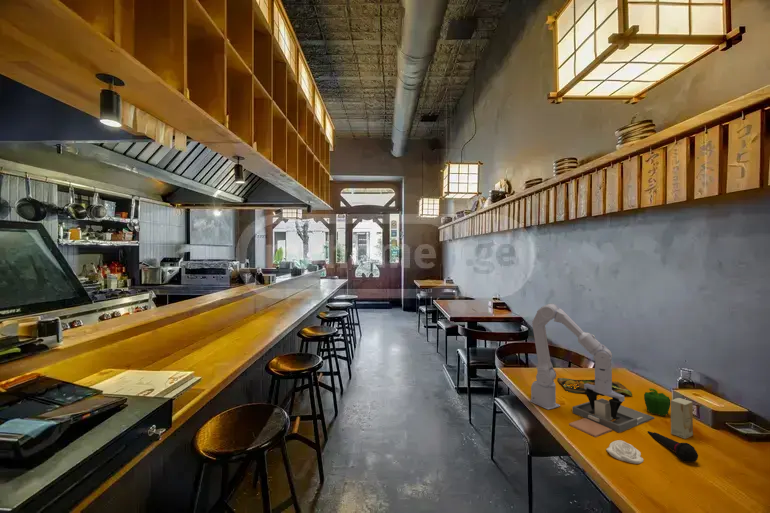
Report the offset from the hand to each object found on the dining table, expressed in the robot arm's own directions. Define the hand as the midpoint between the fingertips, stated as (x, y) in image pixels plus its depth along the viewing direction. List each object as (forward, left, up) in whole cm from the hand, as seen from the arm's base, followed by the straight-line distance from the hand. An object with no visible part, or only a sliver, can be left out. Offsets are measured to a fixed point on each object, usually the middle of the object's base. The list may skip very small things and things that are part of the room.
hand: (603, 412), depth 133 cm
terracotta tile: (+2, -12, -2) cm, 12 cm away
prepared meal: (-22, +28, -3) cm, 36 cm away
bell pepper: (+7, +25, -3) cm, 26 cm away
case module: (0, 0, -2) cm, 2 cm away
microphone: (+23, -1, -3) cm, 23 cm away
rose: (+18, -20, -3) cm, 27 cm away
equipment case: (0, +6, -2) cm, 6 cm away
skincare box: (+20, +13, -3) cm, 24 cm away
